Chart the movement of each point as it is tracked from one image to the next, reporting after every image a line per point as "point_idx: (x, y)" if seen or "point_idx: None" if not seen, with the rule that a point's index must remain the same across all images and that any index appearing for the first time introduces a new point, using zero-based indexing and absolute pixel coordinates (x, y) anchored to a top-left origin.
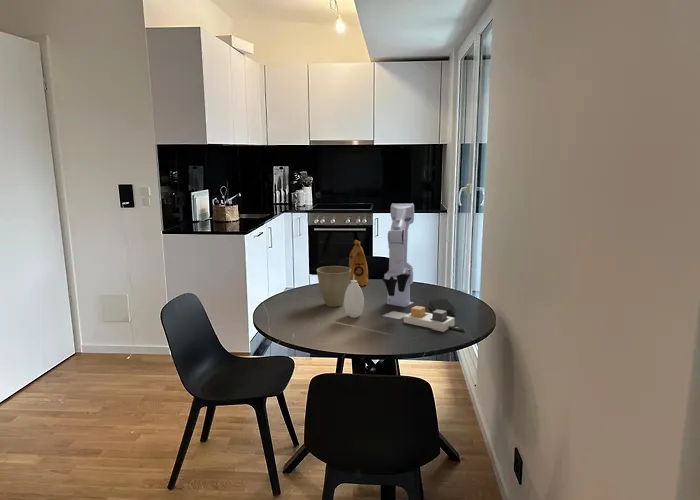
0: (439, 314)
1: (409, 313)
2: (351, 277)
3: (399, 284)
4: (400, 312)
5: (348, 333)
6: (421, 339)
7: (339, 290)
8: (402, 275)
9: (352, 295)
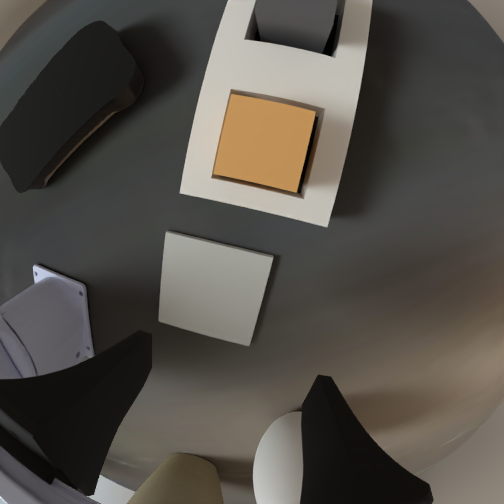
0: None
1: (256, 208)
2: None
3: (123, 406)
4: (161, 283)
5: (459, 366)
6: (480, 99)
7: (205, 501)
8: (67, 465)
9: None
